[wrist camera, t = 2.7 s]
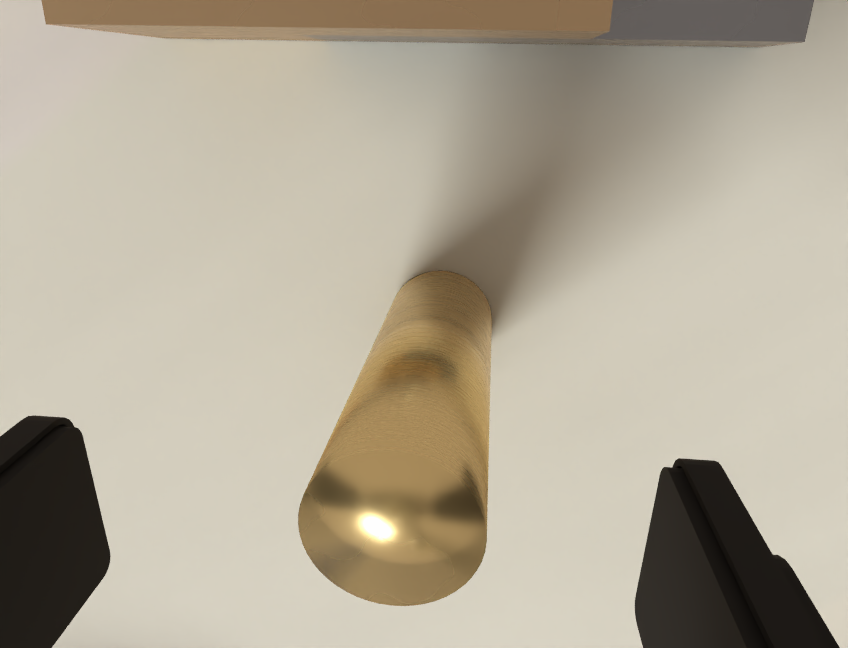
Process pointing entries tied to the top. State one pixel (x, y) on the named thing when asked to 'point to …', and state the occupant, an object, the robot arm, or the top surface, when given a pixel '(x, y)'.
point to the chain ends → (450, 20)
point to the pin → (409, 453)
